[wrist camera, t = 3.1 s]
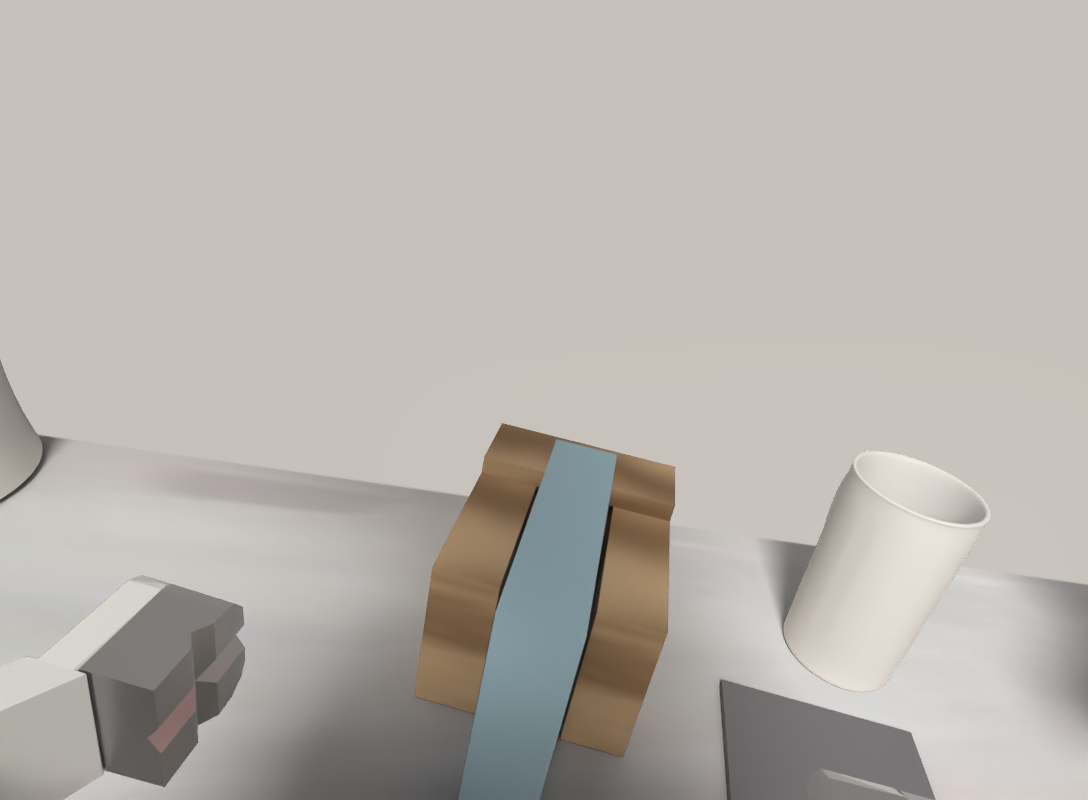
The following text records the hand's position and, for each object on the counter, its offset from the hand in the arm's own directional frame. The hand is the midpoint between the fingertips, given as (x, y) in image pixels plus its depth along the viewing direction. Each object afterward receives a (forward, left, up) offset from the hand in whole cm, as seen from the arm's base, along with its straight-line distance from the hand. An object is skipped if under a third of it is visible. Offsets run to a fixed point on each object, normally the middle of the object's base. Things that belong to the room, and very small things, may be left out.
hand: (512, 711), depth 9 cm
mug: (+32, +8, -20) cm, 38 cm away
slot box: (+15, +15, -20) cm, 29 cm away
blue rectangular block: (+11, +11, -20) cm, 25 cm away
